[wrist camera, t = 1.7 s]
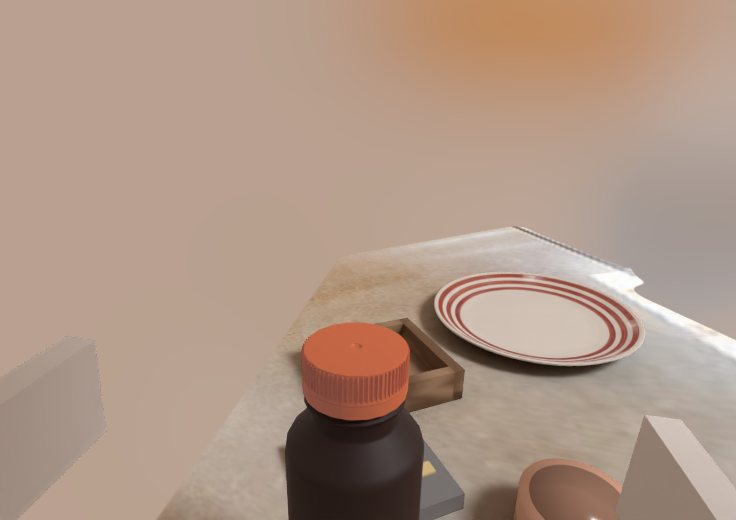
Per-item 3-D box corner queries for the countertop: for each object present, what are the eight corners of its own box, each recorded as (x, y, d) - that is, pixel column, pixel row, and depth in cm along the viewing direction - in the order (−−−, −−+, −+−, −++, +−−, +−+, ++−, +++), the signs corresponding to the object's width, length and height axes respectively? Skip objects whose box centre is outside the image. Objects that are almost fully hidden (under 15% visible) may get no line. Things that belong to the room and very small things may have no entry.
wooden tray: (406, 341, 62) (407, 317, 60) (461, 398, 51) (464, 369, 49) (311, 361, 57) (310, 335, 56) (349, 428, 46) (349, 398, 45)
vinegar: (291, 596, 30) (276, 319, 24) (391, 574, 32) (404, 307, 25) (301, 726, 24) (285, 401, 17) (426, 691, 26) (455, 379, 19)
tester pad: (400, 422, 47) (400, 408, 46) (463, 508, 37) (464, 491, 37) (291, 452, 43) (290, 437, 42) (330, 557, 33) (330, 539, 32)
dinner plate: (622, 415, 49) (629, 387, 48) (397, 337, 63) (398, 314, 62) (651, 318, 70) (656, 298, 69) (477, 277, 85) (479, 259, 83)
